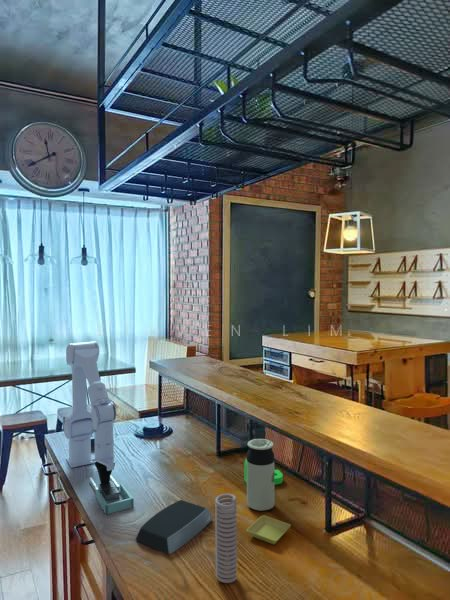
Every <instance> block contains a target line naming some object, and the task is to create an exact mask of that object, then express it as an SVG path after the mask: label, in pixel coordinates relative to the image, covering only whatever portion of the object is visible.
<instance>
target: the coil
mask: <svg viewBox="0 0 450 600" xmlns="http://www.w3.org/2000/svg"><path fill="white" fill-rule="evenodd" d="M237 505H238V504H237V496H236V495H235V494H233V493H232V494H231V493H222V494H219V495H217V496H216V497H215V500H214V507H215V509H214V510H215V511H214V512H215V514H214V515H215V516H214V517H215V519H214V520H215V524H214V525H215V531H214V532H215V541H214V542H215V577H216V579H217V580H218V581H219V582H222V583H223V584H224V583H225V584H230V583H233V582H235V581H236V580H237V578H238V576H237V573H238V570H237V568H238V565H237V564H238V561H237V559H238V555H237V554H238V552H237V550H238V548H237V546H238V544H237V543H238V542H237V540H238V539H237V536H238V535H237V530H238V529H237V527H238V526H237V523H238V521H237V518H238V517H237V513H238V512H237V508H238V507H237Z"/></svg>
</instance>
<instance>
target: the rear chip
mask: <svg viewBox="0 0 450 600" xmlns="http://www.w3.org/2000/svg"><path fill="white" fill-rule="evenodd" d="M113 487H116V486H115V485H114V484H113V482H112V481H109V482H107V483H102V484H101V483H99V484H98V489H99V490H100V492H101V494H102V490H105V489H109V488H113Z"/></svg>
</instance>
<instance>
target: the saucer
mask: <svg viewBox="0 0 450 600" xmlns="http://www.w3.org/2000/svg"><path fill="white" fill-rule="evenodd" d="M291 526H292V524H291V523H288V522H286V521H282V520H279V519H276V518H273V517H271V516H267V515H265V514H264V515H260V516H259V517H258V518H257V519H256V520H255V521H254V522H253V523H252V524H251V525H250V526H249V527H247V528H246V532H247V533H248V534H249V535H250V536H251V537H253V538H255V539H257V540H261V541H263V542H266V543H268V544H271V545H276V544H277V542H279V540H281V538H282V537H283V536H284V535H285V534H286V532H287V531H288V530H289V529H290V528H291Z"/></svg>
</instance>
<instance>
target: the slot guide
mask: <svg viewBox="0 0 450 600" xmlns="http://www.w3.org/2000/svg"><path fill="white" fill-rule="evenodd" d="M88 479H89V480H88V481H89V484H90V485H91V487H92V488H93V490H95V491H94V492H95V493H96V490H99V486H97V484H96V483H95V480H94V479H93V478H92V477H88ZM111 481H112V482H113V484H114V485H115V486H116V488H117V490H118V491H119V492H120V484H118V482H117V480H115V478H114V477H113V475H112V474H111V476H110V481H109V482H111ZM99 491H100V490H99Z"/></svg>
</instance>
